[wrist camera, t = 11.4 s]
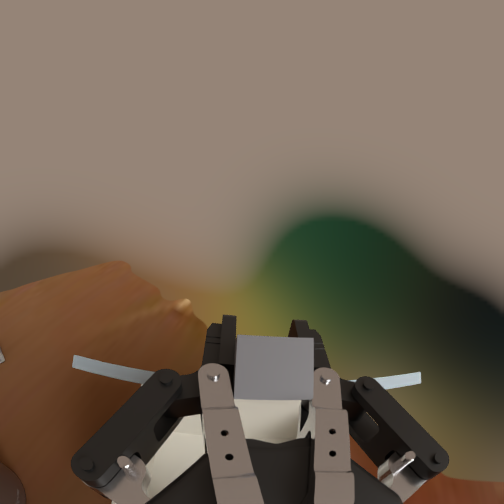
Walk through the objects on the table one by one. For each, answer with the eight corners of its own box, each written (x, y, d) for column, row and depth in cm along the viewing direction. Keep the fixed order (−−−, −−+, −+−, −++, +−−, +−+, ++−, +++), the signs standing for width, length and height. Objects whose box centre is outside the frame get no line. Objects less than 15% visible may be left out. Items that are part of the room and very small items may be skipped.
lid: (23, 353, 8) (33, 302, 10) (142, 379, 27) (144, 358, 29) (473, 373, 10) (469, 329, 11) (333, 390, 29) (333, 370, 30)
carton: (141, 522, 18) (111, 506, 13) (157, 427, 33) (142, 380, 28) (321, 528, 20) (362, 512, 15) (307, 435, 34) (332, 391, 29)
